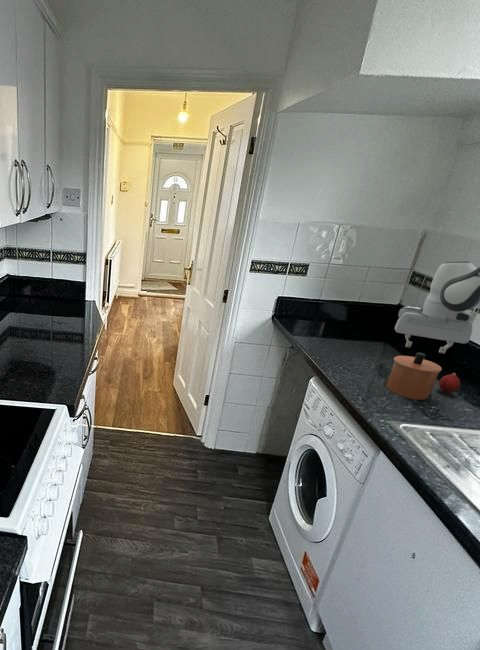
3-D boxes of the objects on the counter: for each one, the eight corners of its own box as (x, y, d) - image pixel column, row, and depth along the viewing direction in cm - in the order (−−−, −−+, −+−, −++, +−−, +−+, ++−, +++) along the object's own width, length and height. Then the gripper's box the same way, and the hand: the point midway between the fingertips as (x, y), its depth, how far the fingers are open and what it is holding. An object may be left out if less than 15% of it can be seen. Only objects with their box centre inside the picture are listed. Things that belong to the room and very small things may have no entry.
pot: (426, 390, 151) (437, 363, 146) (429, 403, 141) (441, 375, 136) (385, 380, 156) (395, 355, 152) (386, 392, 147) (396, 365, 142)
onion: (437, 387, 153) (447, 368, 149) (456, 394, 149) (466, 374, 146) (433, 391, 149) (442, 371, 146) (452, 398, 145) (462, 378, 142)
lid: (437, 365, 147) (443, 352, 145) (442, 378, 136) (448, 364, 134) (392, 355, 153) (396, 344, 151) (393, 367, 142) (398, 354, 141)
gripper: (401, 307, 139) (388, 345, 145) (480, 318, 129) (463, 359, 135) (400, 303, 144) (388, 341, 149) (476, 313, 134) (460, 353, 140)
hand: (424, 349), depth 142 cm, fingers open, 8 cm apart
